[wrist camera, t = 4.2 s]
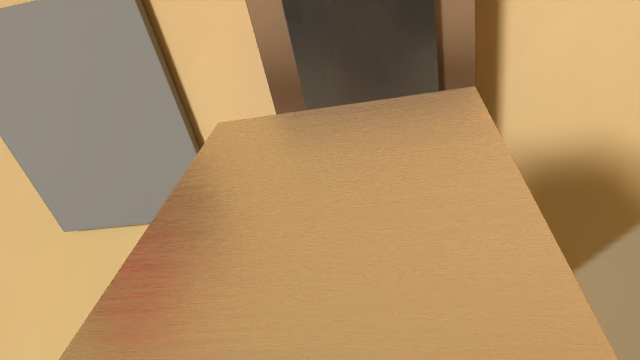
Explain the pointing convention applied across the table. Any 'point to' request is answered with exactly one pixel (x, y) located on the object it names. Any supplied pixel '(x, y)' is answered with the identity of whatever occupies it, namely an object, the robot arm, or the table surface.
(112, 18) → the rubber mat
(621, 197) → the table surface
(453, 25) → the body
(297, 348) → the lever cap
